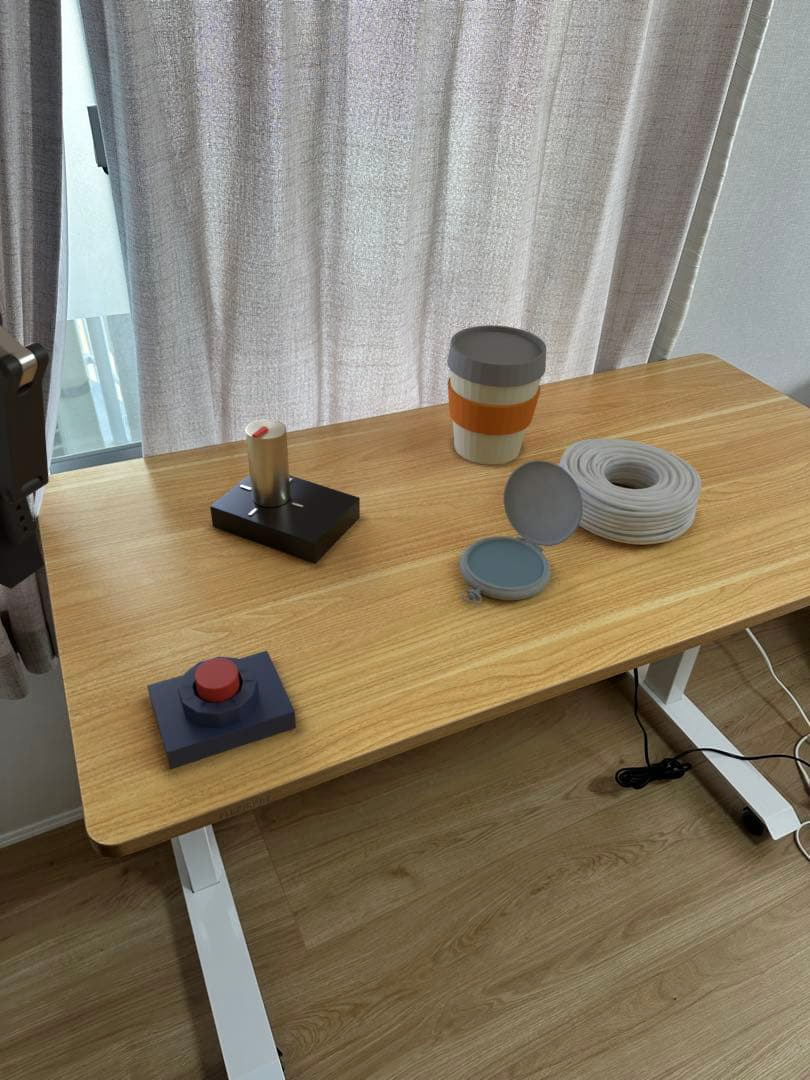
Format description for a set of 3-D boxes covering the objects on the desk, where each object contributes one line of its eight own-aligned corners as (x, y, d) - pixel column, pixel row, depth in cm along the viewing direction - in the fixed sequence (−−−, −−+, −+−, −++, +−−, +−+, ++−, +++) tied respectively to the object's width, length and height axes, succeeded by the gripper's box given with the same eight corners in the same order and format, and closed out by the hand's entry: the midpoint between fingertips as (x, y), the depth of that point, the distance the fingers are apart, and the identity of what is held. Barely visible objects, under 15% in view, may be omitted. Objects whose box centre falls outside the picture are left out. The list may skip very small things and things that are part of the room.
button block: (170, 769, 67) (163, 738, 64) (150, 701, 73) (143, 671, 70) (296, 727, 71) (294, 697, 68) (268, 666, 77) (265, 636, 74)
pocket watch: (596, 479, 85) (519, 544, 75) (578, 559, 91) (506, 629, 82) (516, 445, 89) (434, 503, 80) (505, 524, 96) (428, 586, 87)
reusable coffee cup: (432, 463, 106) (439, 358, 97) (450, 419, 116) (458, 319, 107) (527, 478, 104) (543, 372, 95) (537, 432, 114) (553, 331, 105)
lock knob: (266, 482, 96) (260, 412, 90) (297, 492, 94) (293, 422, 89) (244, 500, 93) (237, 429, 87) (276, 511, 91) (271, 440, 86)
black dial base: (212, 527, 94) (209, 504, 92) (262, 485, 101) (260, 464, 99) (315, 564, 89) (314, 541, 87) (359, 518, 96) (359, 496, 94)
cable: (521, 496, 101) (527, 455, 97) (615, 455, 110) (623, 416, 106) (628, 569, 90) (640, 526, 86) (723, 518, 99) (737, 477, 95)
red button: (202, 708, 68) (200, 694, 67) (192, 678, 70) (190, 664, 69) (244, 695, 69) (242, 681, 68) (233, 667, 71) (231, 653, 70)
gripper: (-279, 181, 37) (-102, 574, 51) (-85, 229, 33) (50, 644, 47) (-128, 151, 42) (-6, 514, 57) (55, 189, 38) (138, 572, 52)
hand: (19, 573), depth 52 cm, fingers closed
